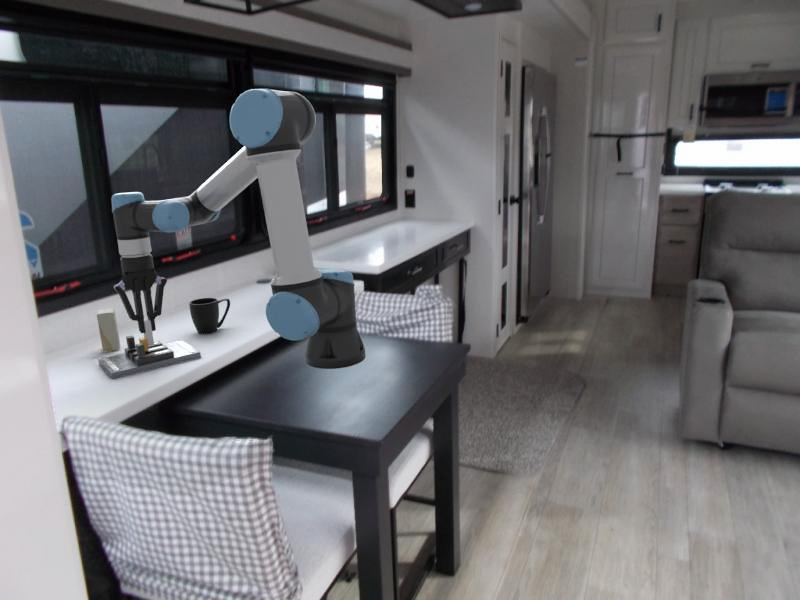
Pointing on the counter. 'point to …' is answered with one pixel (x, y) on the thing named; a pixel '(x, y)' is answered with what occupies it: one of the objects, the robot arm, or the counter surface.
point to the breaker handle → (144, 341)
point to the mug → (207, 314)
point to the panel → (136, 369)
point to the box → (108, 330)
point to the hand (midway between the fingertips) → (149, 343)
